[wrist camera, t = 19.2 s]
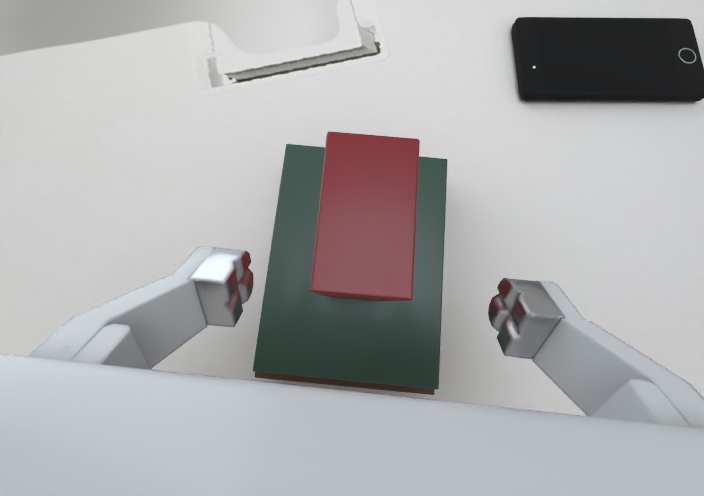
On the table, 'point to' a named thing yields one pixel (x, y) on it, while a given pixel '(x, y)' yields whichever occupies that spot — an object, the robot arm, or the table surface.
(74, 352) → the robot arm
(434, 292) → the book pile
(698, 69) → the cell phone
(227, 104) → the table surface
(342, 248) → the upright red rectangular block
